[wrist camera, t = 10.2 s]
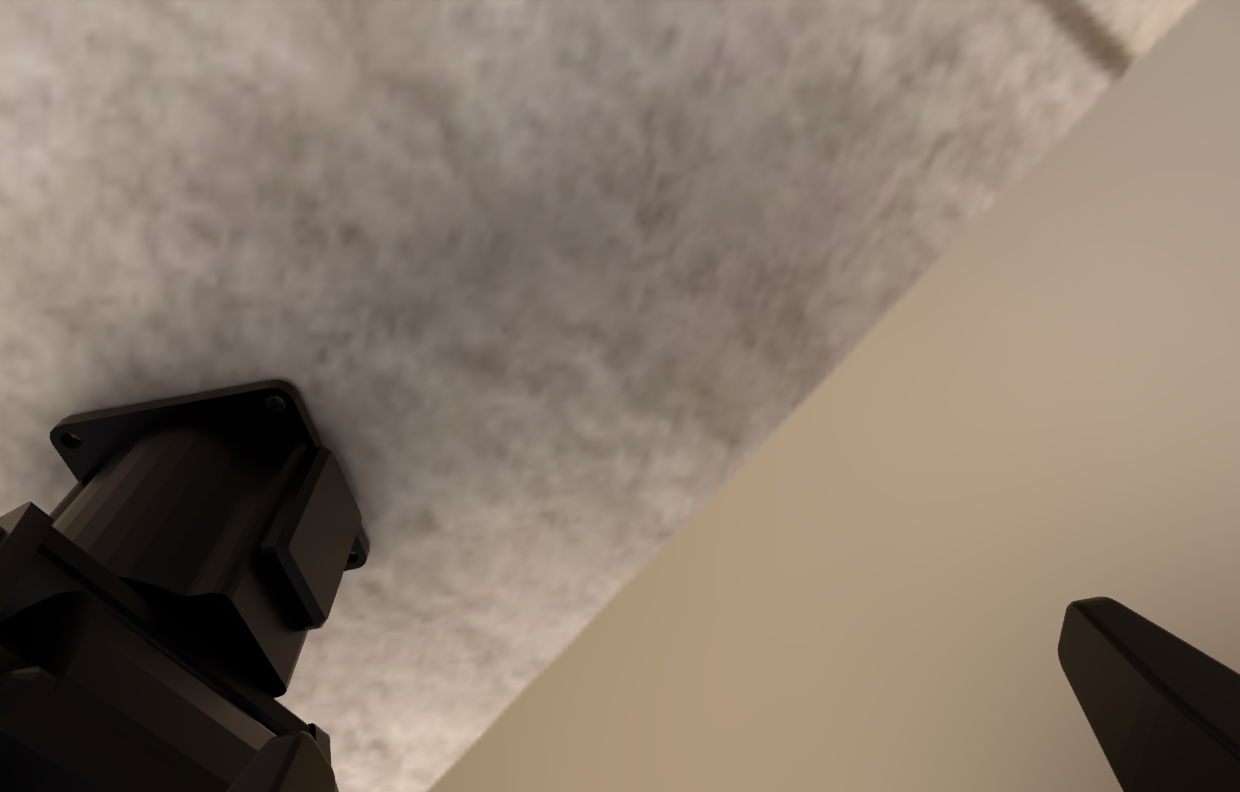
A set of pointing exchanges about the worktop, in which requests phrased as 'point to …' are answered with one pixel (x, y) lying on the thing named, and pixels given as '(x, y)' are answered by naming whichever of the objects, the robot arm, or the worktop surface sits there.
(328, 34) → the worktop surface
